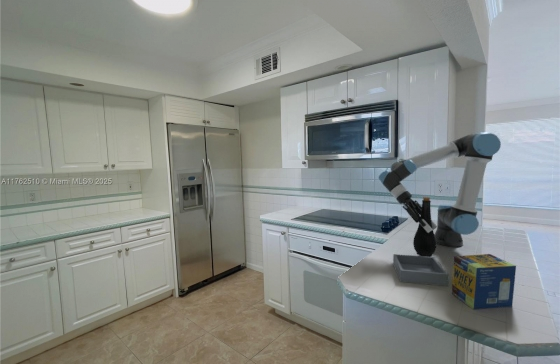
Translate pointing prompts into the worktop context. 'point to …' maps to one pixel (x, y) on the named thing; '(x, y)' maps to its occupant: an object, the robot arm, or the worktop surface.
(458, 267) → the protein box
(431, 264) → the tray
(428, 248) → the bottle
